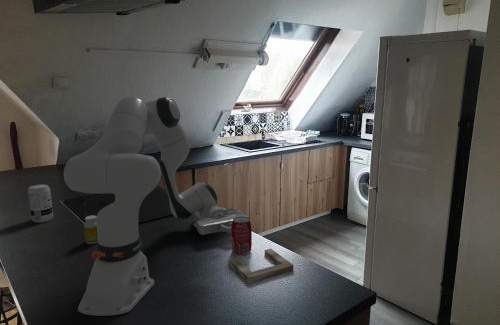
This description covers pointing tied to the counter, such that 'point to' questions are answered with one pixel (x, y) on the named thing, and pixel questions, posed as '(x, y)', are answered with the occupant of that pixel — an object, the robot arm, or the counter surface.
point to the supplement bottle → (90, 230)
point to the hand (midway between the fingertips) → (231, 230)
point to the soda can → (241, 235)
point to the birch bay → (250, 277)
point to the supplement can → (40, 203)
